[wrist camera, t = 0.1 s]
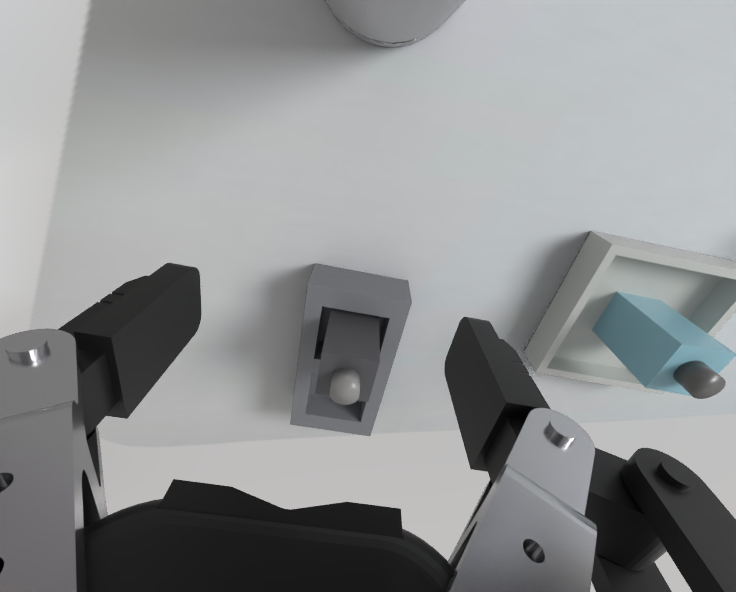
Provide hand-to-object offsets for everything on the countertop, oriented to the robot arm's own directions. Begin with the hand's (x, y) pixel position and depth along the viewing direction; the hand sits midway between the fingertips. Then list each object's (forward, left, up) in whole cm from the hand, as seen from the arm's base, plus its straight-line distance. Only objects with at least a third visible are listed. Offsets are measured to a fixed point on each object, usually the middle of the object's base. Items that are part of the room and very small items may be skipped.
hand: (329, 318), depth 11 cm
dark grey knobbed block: (+11, +2, -16) cm, 20 cm away
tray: (+6, +25, -17) cm, 31 cm away
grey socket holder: (+15, +2, -17) cm, 23 cm away
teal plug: (+6, +25, -16) cm, 30 cm away
